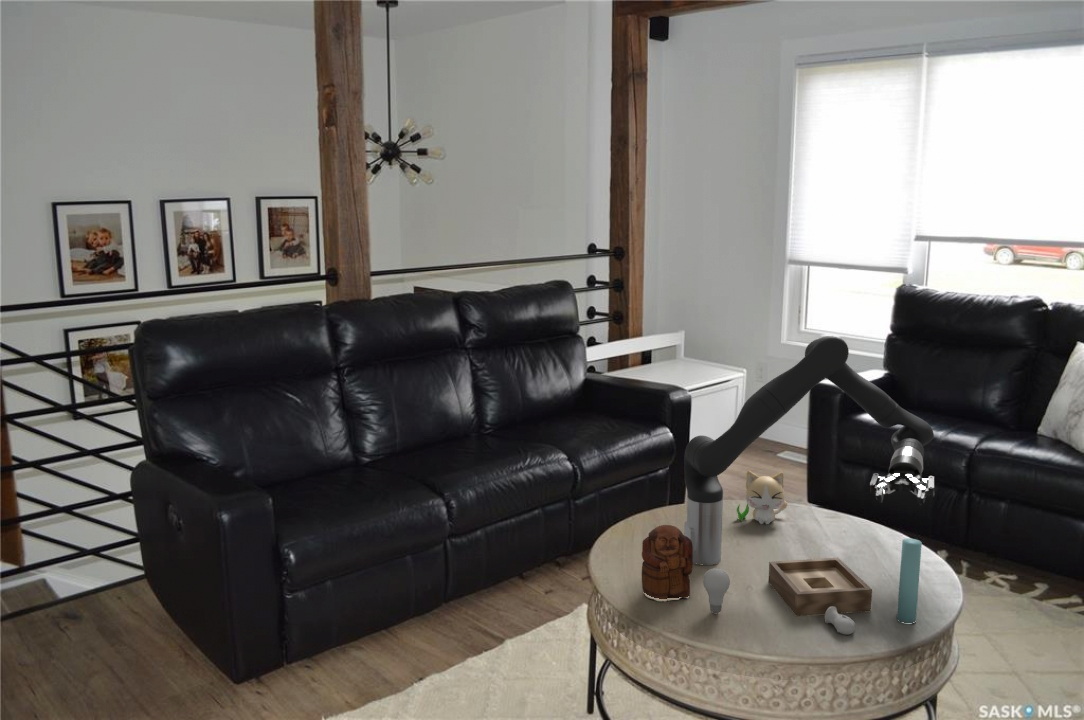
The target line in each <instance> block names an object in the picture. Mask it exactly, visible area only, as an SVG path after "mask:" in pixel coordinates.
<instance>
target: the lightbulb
mask: <svg viewBox="0 0 1084 720" xmlns="http://www.w3.org/2000/svg"><path fill="white" fill-rule="evenodd" d="M702 584H703V587H704V589H705V591H706V593H707V596H708V603H709V611H710V612H712V613H713V614H714V613H717V614H719V613H721V612H722V605H723V602H724V597H725V594H726V593H727V592H728V590H729V587H730V585H731V579H730V577H729V574H728V573H727V571H725V570H724V569H723V568H719V567H712V568H710V569H708V570H707V571H706V572H705V573H704V575H703V578H702Z"/></svg>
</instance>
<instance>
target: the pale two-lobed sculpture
mask: <svg viewBox="0 0 1084 720" xmlns="http://www.w3.org/2000/svg"><path fill="white" fill-rule="evenodd" d="M824 621H825V623H826V624H827V623H829V624H832V625H833V626H834V628H835V629H836V632H837V631H838V633H839V632H840V633H839V634H842V635H846V636H847V635H851V634H853V633H854V631H855V629H856V623H855V621H854V620H853V619H851V617H849V616H847V615H846V614H845V615H844V614H841V613H840V614H838V613H837V609H836V607H834V606H832V607H829V608H828V609H827V611H826V612H825V615H824Z"/></svg>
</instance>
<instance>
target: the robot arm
mask: <svg viewBox="0 0 1084 720" xmlns="http://www.w3.org/2000/svg"><path fill="white" fill-rule="evenodd" d="M849 352H850V351H849V346H848V344H847V342H846V341H845V340H844V339H842V338H841V337H838V336H834V335H828V336H823V337H819V338H816V339H814V340H812V341H811V342H810V343H808V345H807V346H806V348H805V351H804V357H803V358H802V359H801V360H800V361H798V362H797V363H796V364H795V365H794V366H792V367H791V368H789V369H788V370H786V371H785V372H782V373H780V374H779V375H777V376H776V377H774V378H773V379H771V380H770V381H768V382H767V383H765V384H764V385H763V386H762V387H760V388H759V389H758V390H756V392H754V393H753V394H752V395H751V396H750V397H749V398H748V399H746V401H745V402H744V404H743V406H742V407H741V409H740V411H739V414H738V416H737V418H736V420H735V421H734V423H733V424H732V425H731V426H730V427H729V428H728V429H727V430H726V431H725V432H723V434H721V435H720V436H719V437H717V438H715V439H713V438H712V437H710V436H707V435H697V436H694V437H693V438H692V439H690V440H689V442H688V443H687V444H686V447H685V450H684V456H683V457H684V459H683V461H684V463H683V464H684V467H683V468H684V470H683V471H684V485H685V488H686V492H687V493H686V496H687V499H686V500H687V501H686V521H684V527H683V529H684V530H683V535H685V536H687V537H688V538H690V540H691V541H692V546H693V559H692V561H693V563H697V564H696V565H698V564H703V565H702V566H714V565H717V564H719V563H720V562H721V561H722V540H723V539H722V535H723V505H724V504H723V503H724V502H723V501H724V489H723V486H722V484H721V483H720V481H719V477H718V476H719V475H721V474H723V473H724V472H725V471H726V470H727V469H728V468H729V467H730V466H731V465H732V464H733V463H734V462H735V461H736V460H737V458H738V457H740V456H741V455H742V453H743V452H744V451H745V450H746V449H747V448H748V447H749V446H751V444H753V443H754V442H755V441H756V440H757V439H758V438H759V437H761V435H763V433H765V432H766V431H767V430H768V429H769V428H771V427H773V425H774V424H776V423H777V422H778V421H779V420H780V419H782V418H783V417H784V416H785V415H786V414H787V413H788V412H789V411H790V410H791V409H793V408H794V407H795V406H796V405H797V404H798V403H799V402H800V401H801V400H802V399H803V398H804V397H805V396H806V395H807V394H808V393H809V392H810V391H811V390H812V389H813V388H814V387H815V386H817V385H818V384H820V382H822V381H823V380H825V379H826V380H828V381H830V382H831V383H832V384H833V385H835V386H836V387H837V388H839V389H840V390H841V391H843V392H844V393H845V394H846V395H847V396H848V397H849V398H851V399H852V400H853V401H854V402H855V403H857V405H858V406H859V407H860V408H862V410H864V411H865V412H866V413H867V415H869V416H870V417H871V418H872V419H873V420H874V421H875V422H876V423H877V424H878V425H879V426H880V427H881V428H883V429H890V428H892V427H896V426H899V425H900V426H902V427H901V428H899V429H897V430H896V431H895V432H894V433H893V434H892V435H891V438H890V443H891V446H892V447H893V455H892V456H891V459H890V464H889V467H888V473H887V475H885V476H880V474H879V473H877V472H876V473H873V474H872V477H871V479H870V482H869V489H870V490H869V491H870V493H869V494H871V495H875V500H876V501H878V503H879V504H882V503H883V502H884V501H883V500H884V495H886V494H888V495H890V494H892V493H894V492H907V493H909V492H910V493H912V494H913V495H915V496H916V500H917V504H916V505H917V506H922V504H925V502H926V498H927V497H929V498H935V476H933V475H929V476H928V478H923V477H922V475H923V474H922V473H923V471H924V457H925V456H924V454H925V449H924V446H926V445H927V444H929V443H930V442H931V441H932V440H933V439H934V436H935V435H934V430H933V428H932V426H931V425H930V424H929V423H928V422H927V421H925V420H924V419H923V418H920V417H919V416H917V415H915V414H913V413H911V412H909V411H907V410H906V409H904V408H902V406H900V405H899V403H897V402H896V401H895V400H894V399H892V398H891V396H889V394H887V393H886V392H885V391H884V390H882V389H881V388H880V387H878V386H877V385H876V384H874V383H872V382H871V381H869V380H867V379H866V378H865V377H863V376H861V375H860V374H858V372H856V371H855V370H853V369H852V367H850V365H849V364H848V363H847V361H848V358H849ZM713 564H714V565H713Z"/></svg>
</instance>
